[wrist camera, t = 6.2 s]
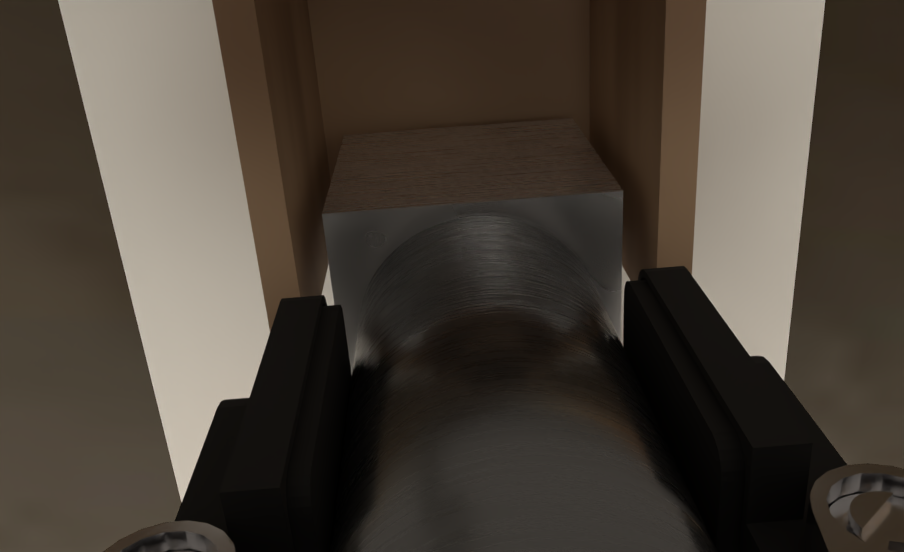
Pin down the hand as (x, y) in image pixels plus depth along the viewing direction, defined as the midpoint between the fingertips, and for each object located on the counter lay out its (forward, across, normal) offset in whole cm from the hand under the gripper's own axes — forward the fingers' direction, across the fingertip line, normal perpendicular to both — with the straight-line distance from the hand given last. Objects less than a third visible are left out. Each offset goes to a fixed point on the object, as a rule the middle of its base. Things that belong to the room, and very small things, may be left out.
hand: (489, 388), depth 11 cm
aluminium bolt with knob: (+6, 0, +3) cm, 7 cm away
